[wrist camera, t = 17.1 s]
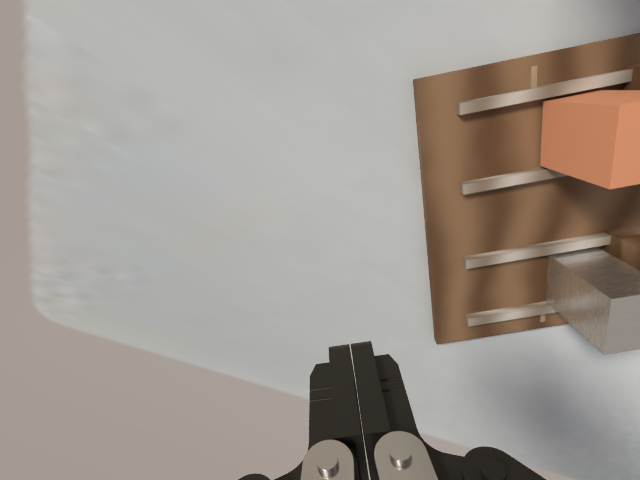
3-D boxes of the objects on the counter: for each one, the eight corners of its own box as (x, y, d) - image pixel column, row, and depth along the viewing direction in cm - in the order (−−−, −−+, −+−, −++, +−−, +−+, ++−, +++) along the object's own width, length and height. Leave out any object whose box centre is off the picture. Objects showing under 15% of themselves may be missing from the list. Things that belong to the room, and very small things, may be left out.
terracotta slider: (540, 165, 35) (609, 189, 27) (543, 101, 33) (619, 105, 25) (592, 155, 35) (679, 176, 27) (599, 90, 33) (696, 90, 24)
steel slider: (545, 301, 41) (603, 354, 33) (548, 254, 39) (611, 299, 31) (590, 293, 41) (660, 345, 33) (596, 246, 39) (672, 289, 30)
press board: (434, 339, 45) (454, 381, 38) (413, 79, 33) (436, 77, 27) (651, 304, 43) (710, 341, 37) (706, 19, 32) (806, 1, 25)
